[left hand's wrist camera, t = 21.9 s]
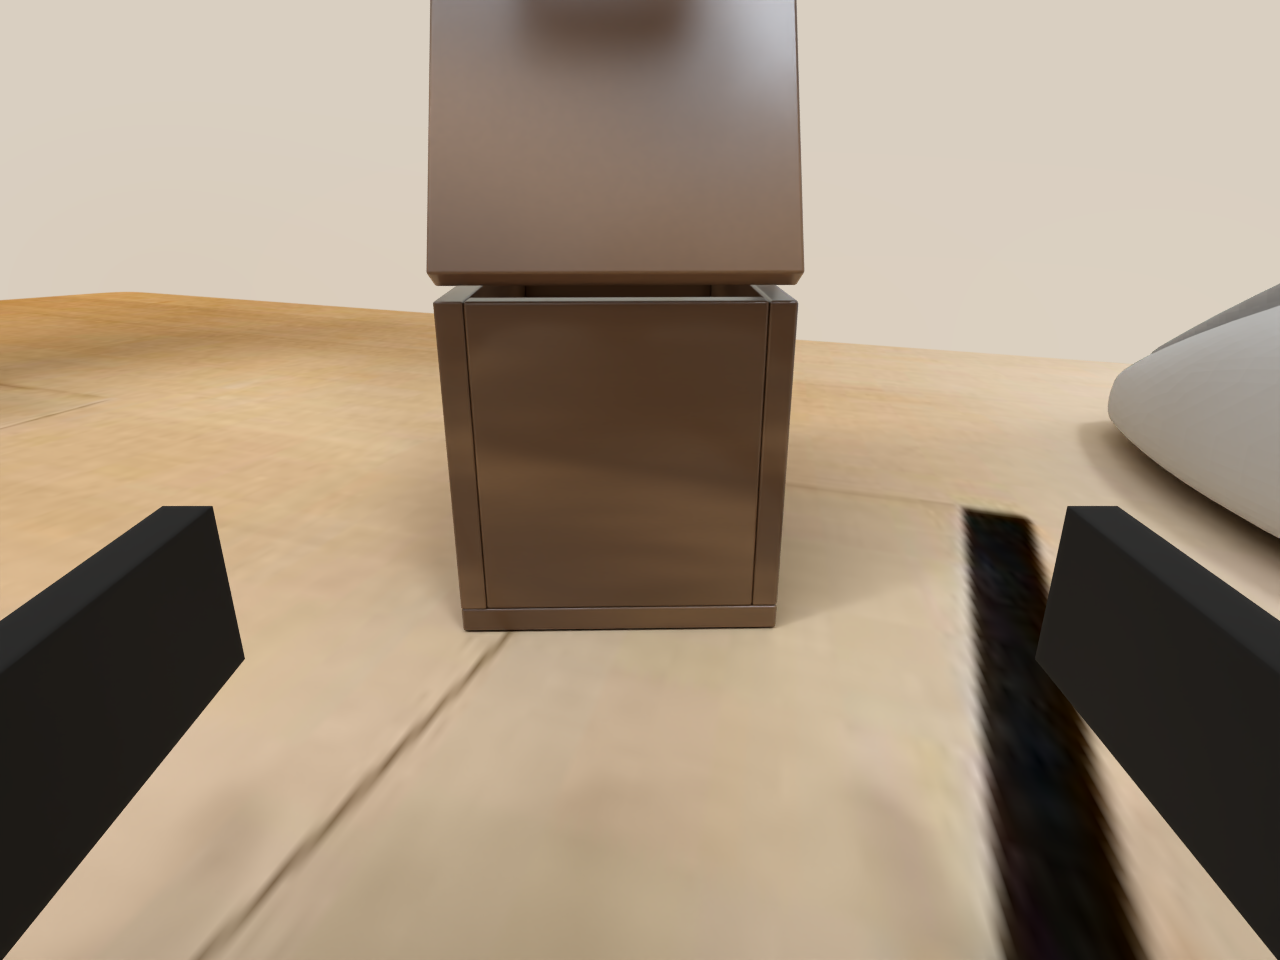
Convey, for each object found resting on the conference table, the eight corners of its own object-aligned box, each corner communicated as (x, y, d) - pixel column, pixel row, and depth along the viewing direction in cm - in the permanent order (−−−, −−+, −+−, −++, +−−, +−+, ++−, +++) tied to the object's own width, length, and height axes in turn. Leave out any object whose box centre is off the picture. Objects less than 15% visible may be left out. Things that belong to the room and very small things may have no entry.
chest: (519, 464, 37) (507, 249, 34) (719, 463, 38) (727, 248, 34) (463, 631, 24) (432, 301, 20) (775, 627, 24) (799, 300, 21)
